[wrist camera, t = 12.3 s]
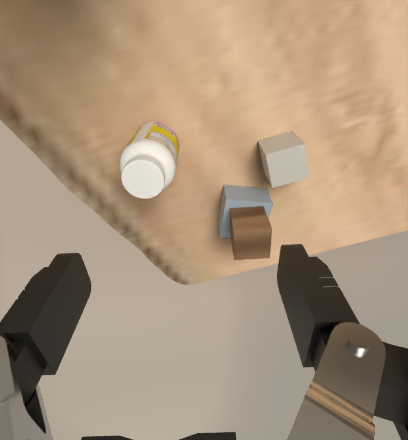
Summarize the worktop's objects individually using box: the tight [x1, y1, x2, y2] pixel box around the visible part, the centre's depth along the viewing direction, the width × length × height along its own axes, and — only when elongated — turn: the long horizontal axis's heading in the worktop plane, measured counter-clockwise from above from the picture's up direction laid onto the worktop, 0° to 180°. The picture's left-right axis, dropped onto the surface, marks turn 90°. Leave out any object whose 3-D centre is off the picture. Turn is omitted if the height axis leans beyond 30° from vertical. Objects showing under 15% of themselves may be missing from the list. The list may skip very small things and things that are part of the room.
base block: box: [218, 185, 273, 238], centre depth 45 cm, size 7×7×5 cm
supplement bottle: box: [120, 122, 179, 199], centre depth 36 cm, size 7×7×13 cm
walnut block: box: [230, 206, 272, 260], centre depth 40 cm, size 5×5×6 cm
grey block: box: [258, 131, 309, 188], centre depth 39 cm, size 5×5×6 cm
